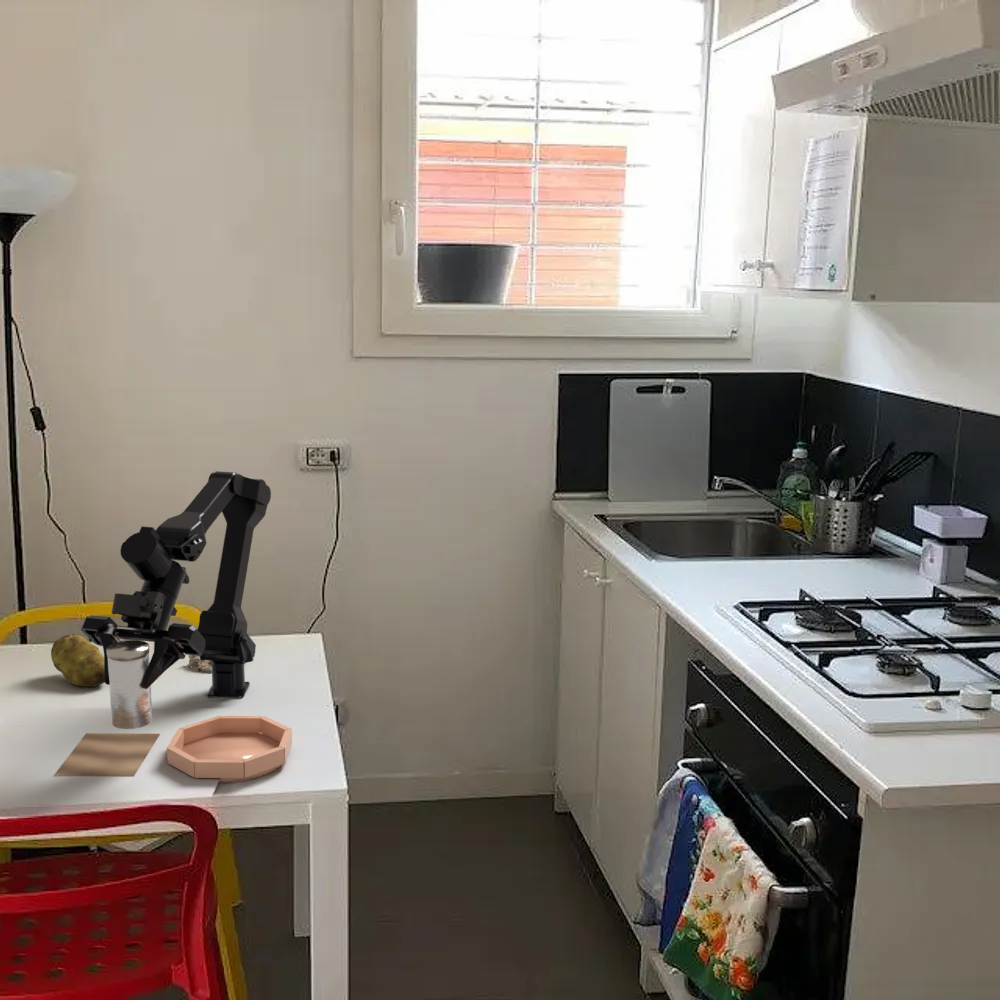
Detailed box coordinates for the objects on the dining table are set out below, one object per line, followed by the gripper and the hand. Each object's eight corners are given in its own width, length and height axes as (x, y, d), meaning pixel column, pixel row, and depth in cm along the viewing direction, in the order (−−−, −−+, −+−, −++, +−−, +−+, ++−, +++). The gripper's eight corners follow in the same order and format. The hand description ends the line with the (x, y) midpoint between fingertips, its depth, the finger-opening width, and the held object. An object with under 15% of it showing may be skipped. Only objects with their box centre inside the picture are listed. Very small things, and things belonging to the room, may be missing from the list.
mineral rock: (186, 664, 227) (189, 640, 234) (187, 683, 229) (189, 658, 236) (245, 663, 229) (246, 639, 236) (245, 682, 231) (246, 658, 238)
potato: (67, 696, 216) (64, 653, 215) (48, 674, 227) (45, 633, 225) (114, 687, 221) (112, 645, 219) (93, 666, 231) (90, 626, 230)
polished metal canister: (113, 714, 190) (109, 641, 188) (154, 712, 191) (150, 639, 189) (108, 730, 184) (104, 655, 182) (151, 727, 185) (147, 652, 183)
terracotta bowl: (186, 735, 200) (185, 715, 199) (297, 736, 201) (296, 716, 200) (159, 784, 183) (158, 762, 182) (280, 784, 183) (279, 762, 182)
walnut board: (86, 737, 199) (86, 733, 199) (160, 738, 199) (160, 733, 199) (53, 780, 183) (53, 775, 183) (134, 781, 183) (133, 776, 183)
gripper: (83, 565, 189) (45, 657, 181) (193, 575, 184) (159, 669, 176) (114, 599, 198) (79, 688, 190) (219, 609, 194) (188, 700, 186)
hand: (125, 685), depth 185 cm, fingers closed on polished metal canister, 6 cm apart
